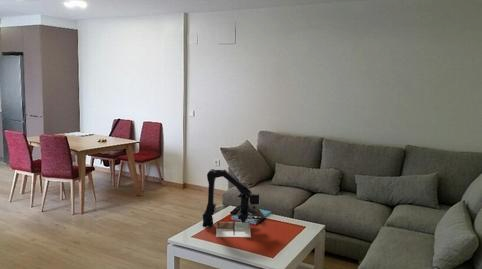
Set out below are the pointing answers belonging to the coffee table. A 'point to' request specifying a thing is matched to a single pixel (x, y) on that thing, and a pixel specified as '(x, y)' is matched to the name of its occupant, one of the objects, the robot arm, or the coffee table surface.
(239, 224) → the fence panel
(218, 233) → the card
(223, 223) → the fence fixed section
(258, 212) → the worn brown figurine
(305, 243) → the coffee table surface
